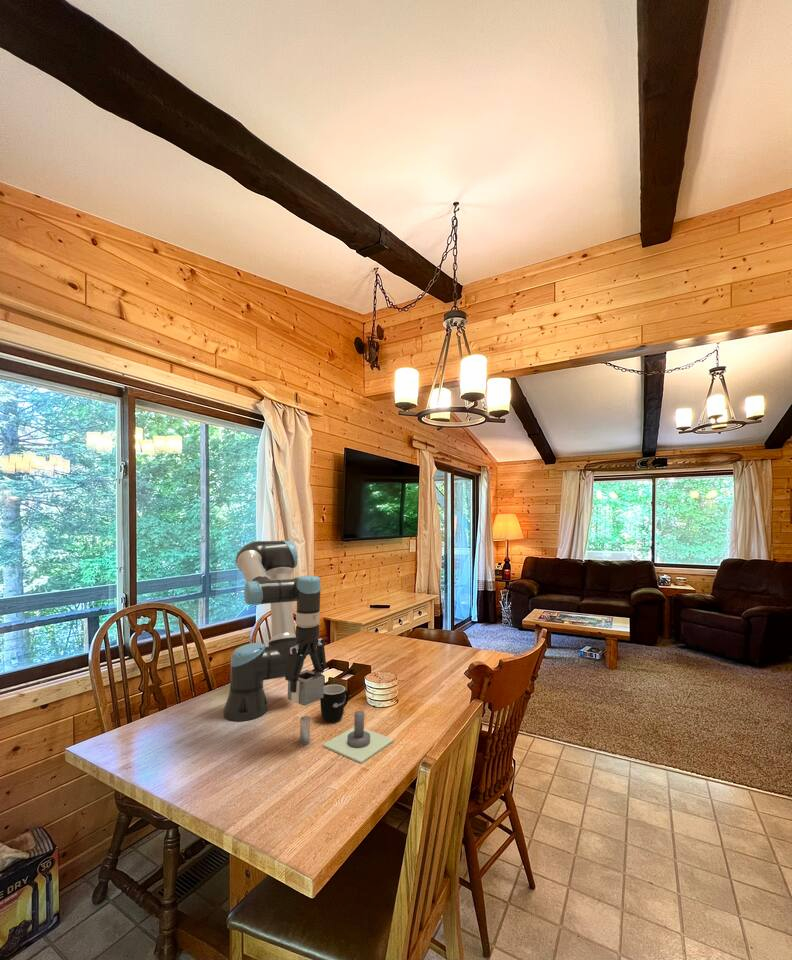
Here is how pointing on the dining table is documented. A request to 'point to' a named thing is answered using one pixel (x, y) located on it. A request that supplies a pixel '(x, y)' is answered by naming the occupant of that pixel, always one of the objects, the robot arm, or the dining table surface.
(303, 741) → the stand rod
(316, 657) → the robot arm
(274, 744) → the dining table surface
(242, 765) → the dining table surface
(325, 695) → the mug
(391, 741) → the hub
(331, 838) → the dining table surface
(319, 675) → the collar
